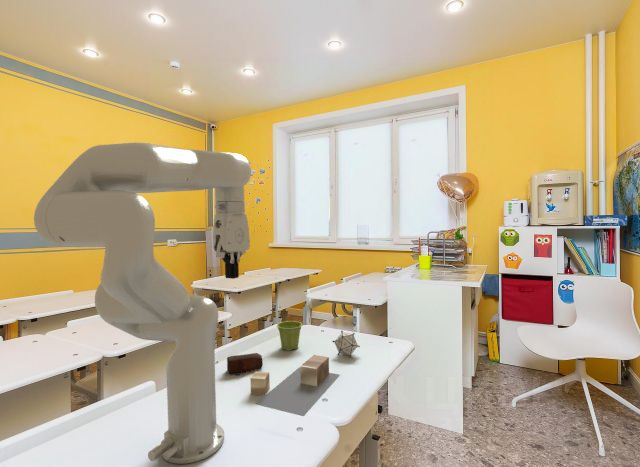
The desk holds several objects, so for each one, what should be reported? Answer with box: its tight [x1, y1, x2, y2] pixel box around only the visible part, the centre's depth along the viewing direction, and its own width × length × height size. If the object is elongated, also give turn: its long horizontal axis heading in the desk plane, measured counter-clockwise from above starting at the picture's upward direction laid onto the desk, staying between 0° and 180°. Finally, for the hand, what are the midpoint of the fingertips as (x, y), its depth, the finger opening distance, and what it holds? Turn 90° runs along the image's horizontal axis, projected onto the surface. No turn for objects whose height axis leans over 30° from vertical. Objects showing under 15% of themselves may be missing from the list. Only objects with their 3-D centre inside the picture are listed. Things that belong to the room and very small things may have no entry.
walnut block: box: [300, 354, 330, 386], centre depth 102 cm, size 5×5×9 cm
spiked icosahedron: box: [332, 330, 361, 358], centre depth 120 cm, size 9×8×10 cm
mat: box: [255, 367, 341, 417], centre depth 96 cm, size 24×14×1 cm, turn 155°
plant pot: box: [276, 320, 303, 351], centre depth 128 cm, size 9×9×9 cm
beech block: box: [249, 371, 271, 397], centre depth 94 cm, size 4×4×5 cm
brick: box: [226, 352, 264, 376], centre depth 109 cm, size 11×4×5 cm, turn 111°
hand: (232, 277), depth 92 cm, fingers closed
